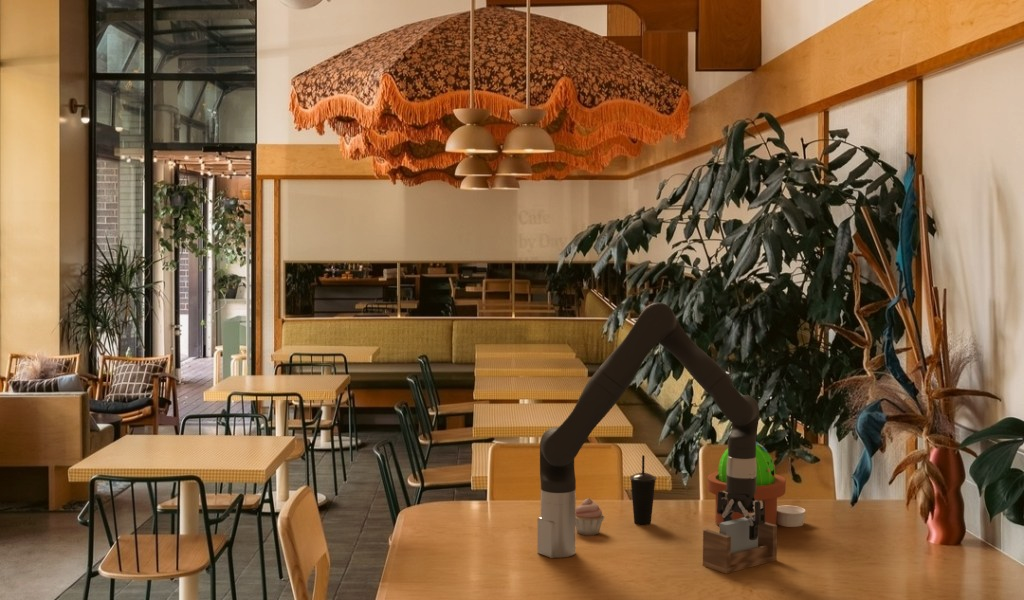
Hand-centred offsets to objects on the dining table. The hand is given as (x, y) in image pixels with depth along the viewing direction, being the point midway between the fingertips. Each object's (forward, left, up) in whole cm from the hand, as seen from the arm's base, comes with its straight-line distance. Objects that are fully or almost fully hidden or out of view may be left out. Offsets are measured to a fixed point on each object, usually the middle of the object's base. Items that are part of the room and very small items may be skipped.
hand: (740, 535), depth 283 cm
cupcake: (-14, +44, -7) cm, 47 cm away
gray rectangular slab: (0, 0, -6) cm, 6 cm away
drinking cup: (+5, +42, -7) cm, 43 cm away
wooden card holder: (0, 0, -7) cm, 7 cm away
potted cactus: (+29, +24, -7) cm, 38 cm away
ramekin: (+40, +17, -8) cm, 44 cm away
